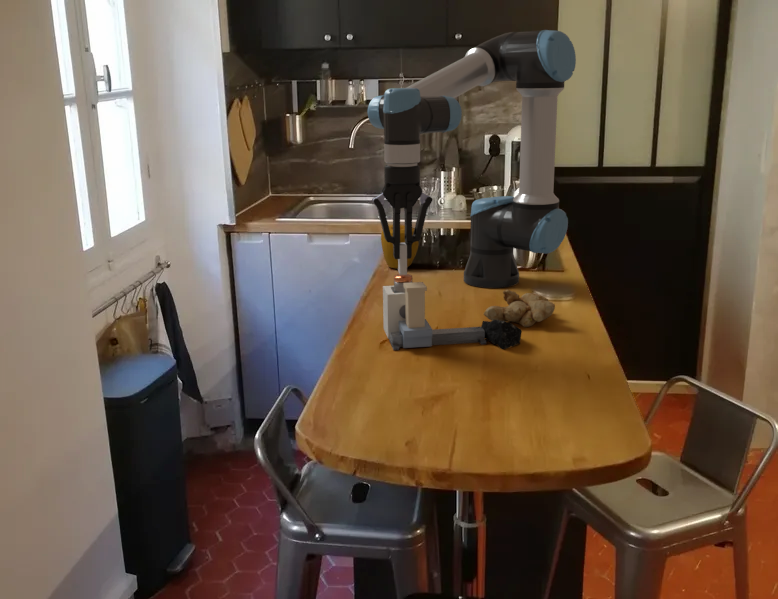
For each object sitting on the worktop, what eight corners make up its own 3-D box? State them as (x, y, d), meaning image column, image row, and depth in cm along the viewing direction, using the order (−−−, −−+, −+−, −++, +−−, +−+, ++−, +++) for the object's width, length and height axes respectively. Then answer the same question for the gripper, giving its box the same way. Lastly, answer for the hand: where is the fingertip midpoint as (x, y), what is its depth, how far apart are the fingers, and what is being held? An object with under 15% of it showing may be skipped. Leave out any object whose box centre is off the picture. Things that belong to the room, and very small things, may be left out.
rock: (500, 332, 176) (501, 307, 174) (529, 345, 167) (530, 319, 166) (474, 337, 173) (474, 311, 171) (502, 351, 164) (503, 324, 162)
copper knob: (410, 299, 176) (410, 273, 174) (413, 304, 172) (413, 278, 170) (392, 300, 175) (392, 274, 174) (395, 305, 172) (395, 278, 170)
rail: (479, 335, 173) (479, 324, 172) (486, 344, 167) (486, 333, 167) (389, 340, 170) (389, 330, 170) (393, 350, 165) (393, 339, 164)
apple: (425, 265, 235) (425, 222, 231) (406, 273, 226) (405, 229, 223) (393, 261, 241) (393, 219, 237) (374, 268, 232) (373, 225, 228)
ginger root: (566, 308, 187) (564, 278, 183) (549, 344, 174) (547, 313, 171) (502, 303, 193) (499, 274, 190) (482, 337, 181) (479, 307, 177)
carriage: (425, 336, 172) (425, 279, 168) (432, 347, 165) (432, 288, 162) (398, 338, 171) (398, 281, 167) (404, 349, 164) (403, 290, 161)
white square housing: (418, 326, 180) (418, 284, 177) (424, 337, 173) (424, 293, 170) (383, 328, 178) (382, 286, 176) (388, 339, 171) (387, 295, 169)
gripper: (429, 161, 170) (428, 267, 176) (369, 162, 168) (370, 270, 174) (436, 165, 162) (435, 276, 169) (373, 167, 161) (375, 278, 167)
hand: (402, 273), depth 172 cm, fingers closed
